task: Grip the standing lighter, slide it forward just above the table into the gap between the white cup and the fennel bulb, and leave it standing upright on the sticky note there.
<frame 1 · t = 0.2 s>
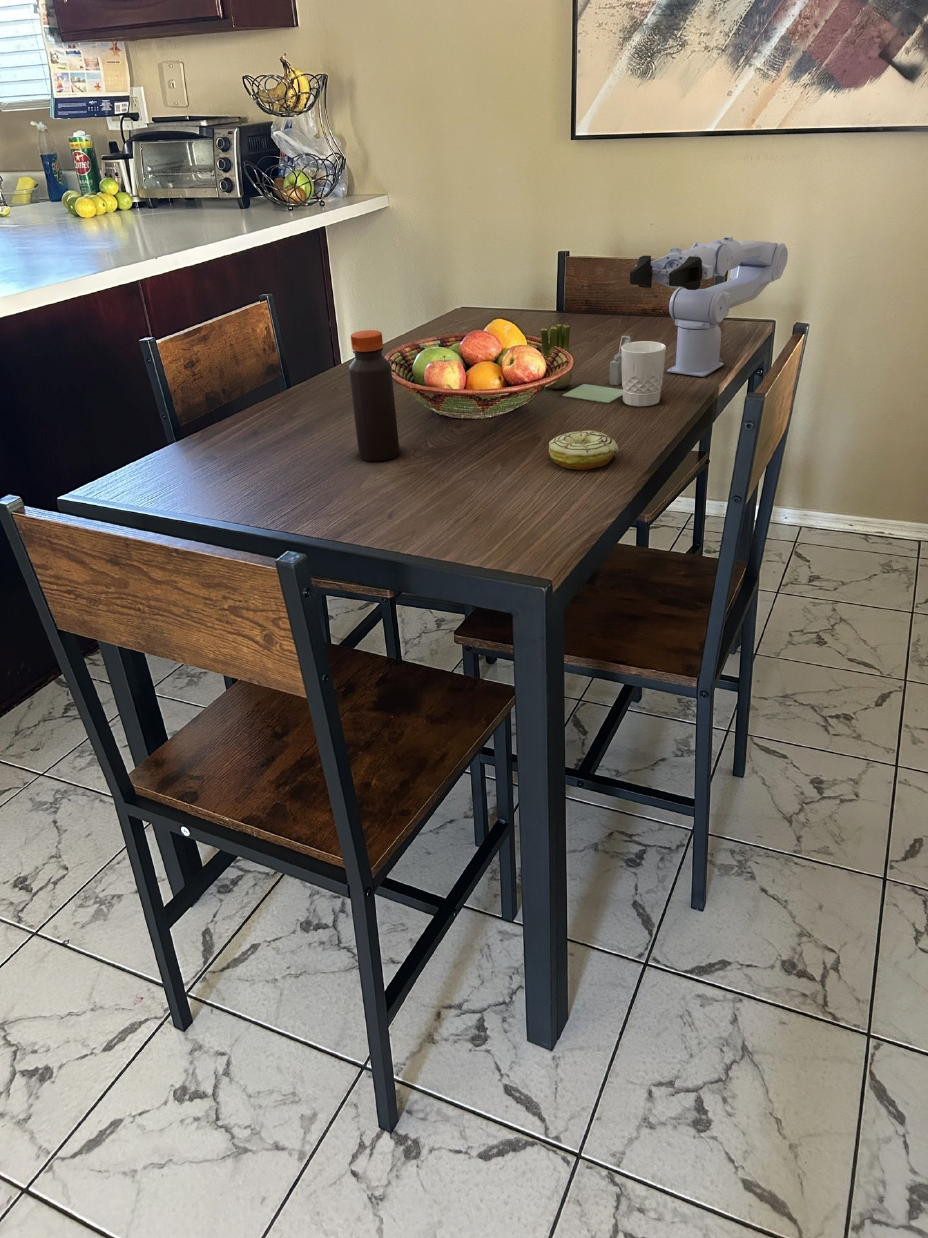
hand: (650, 278, 164), 21 cm above the table, tool horizontal, fingers open, 7 cm apart
lighter: (620, 380, 184), on the table
bottle: (379, 456, 156), on the table
sticky note: (595, 393, 178), on the table
decorated donut: (583, 461, 148), on the table
fennel bulb: (556, 388, 182), on the table
white cup: (641, 402, 172), on the table
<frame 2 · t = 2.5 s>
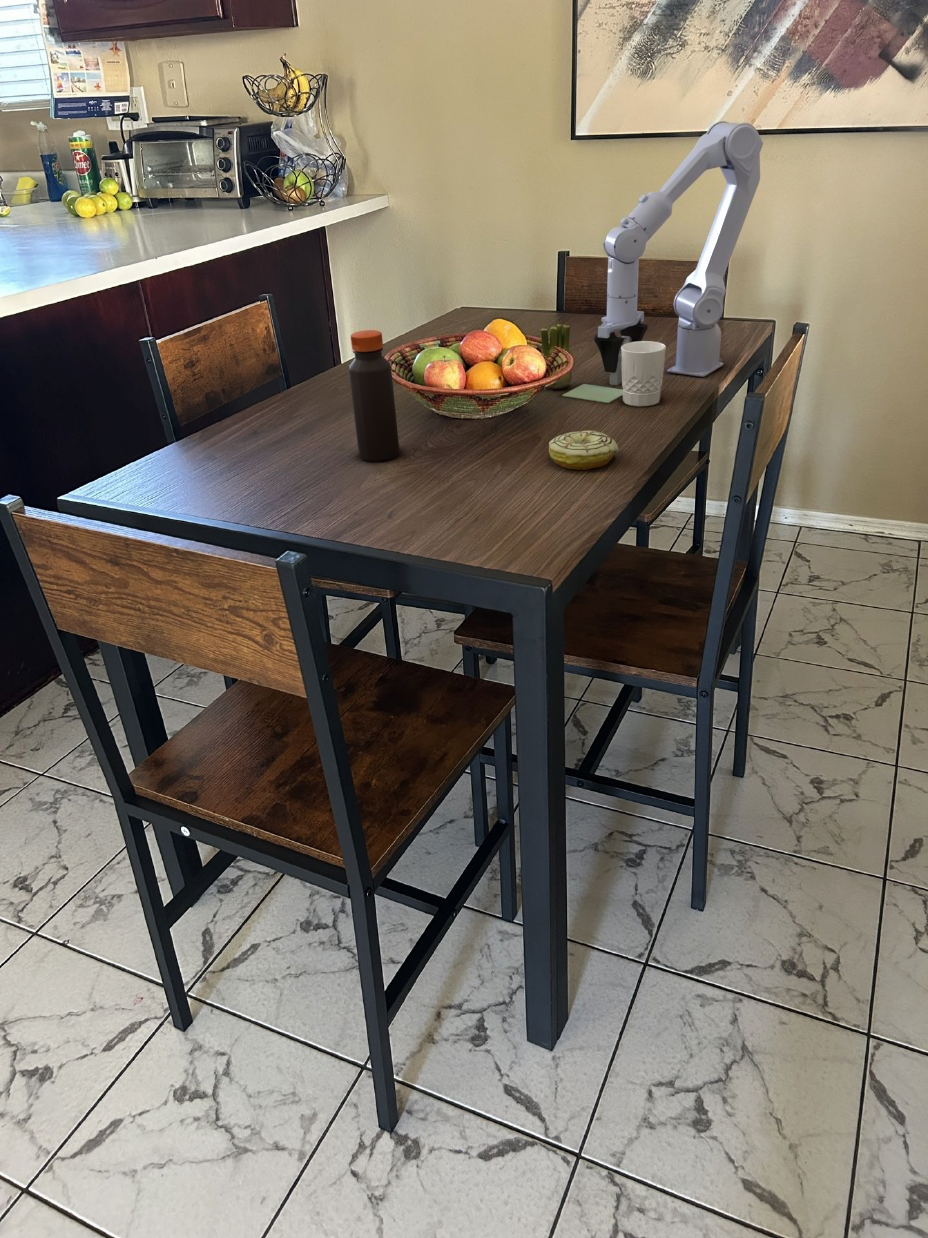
hand: (620, 366, 183), 3 cm above the table, tool pointing down
lighter: (620, 380, 184), on the table, touching gripper
everything else where it was.
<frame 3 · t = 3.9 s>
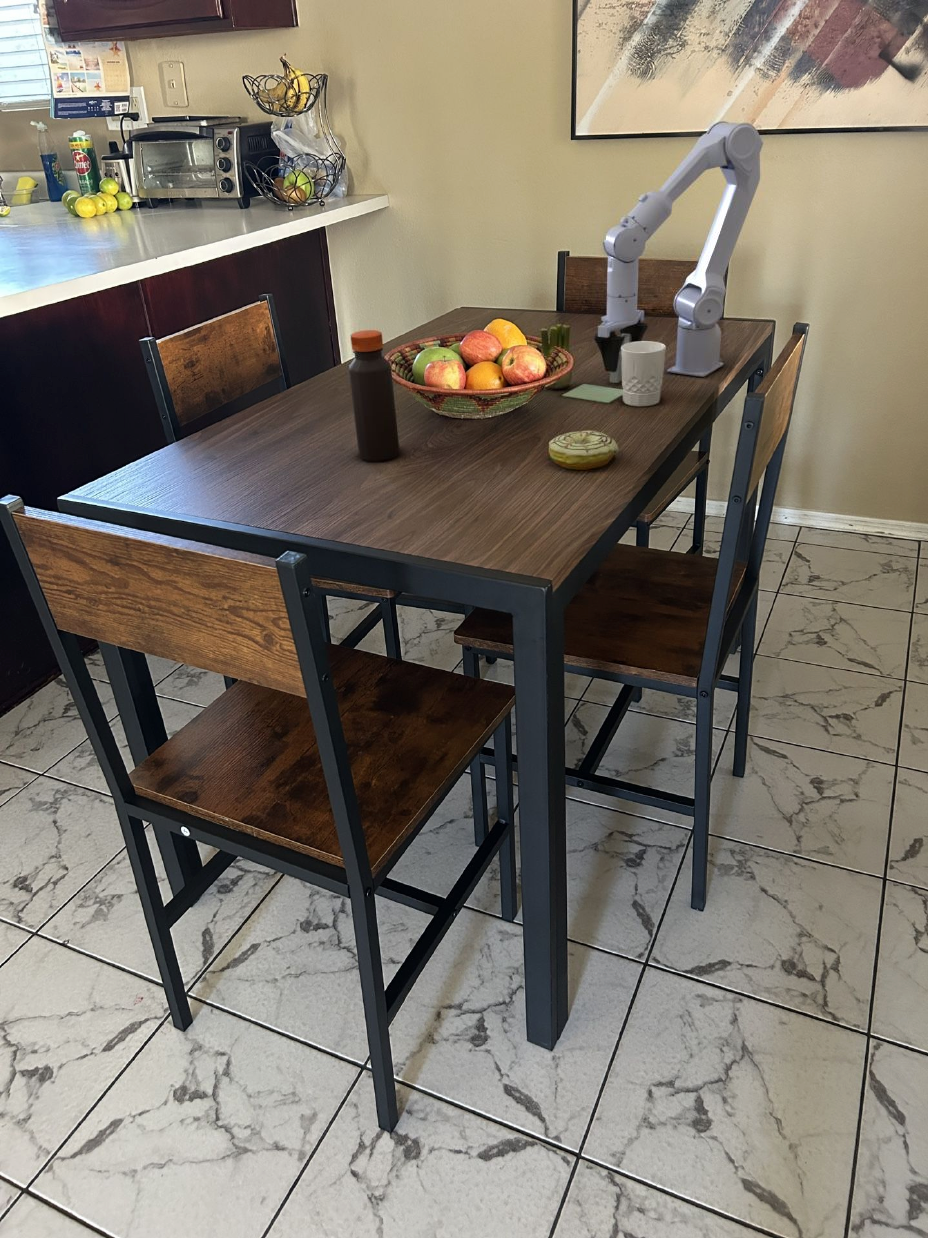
hand: (620, 365, 183), 3 cm above the table, tool pointing down
lighter: (620, 378, 184), on the table, touching gripper
everything else where it was.
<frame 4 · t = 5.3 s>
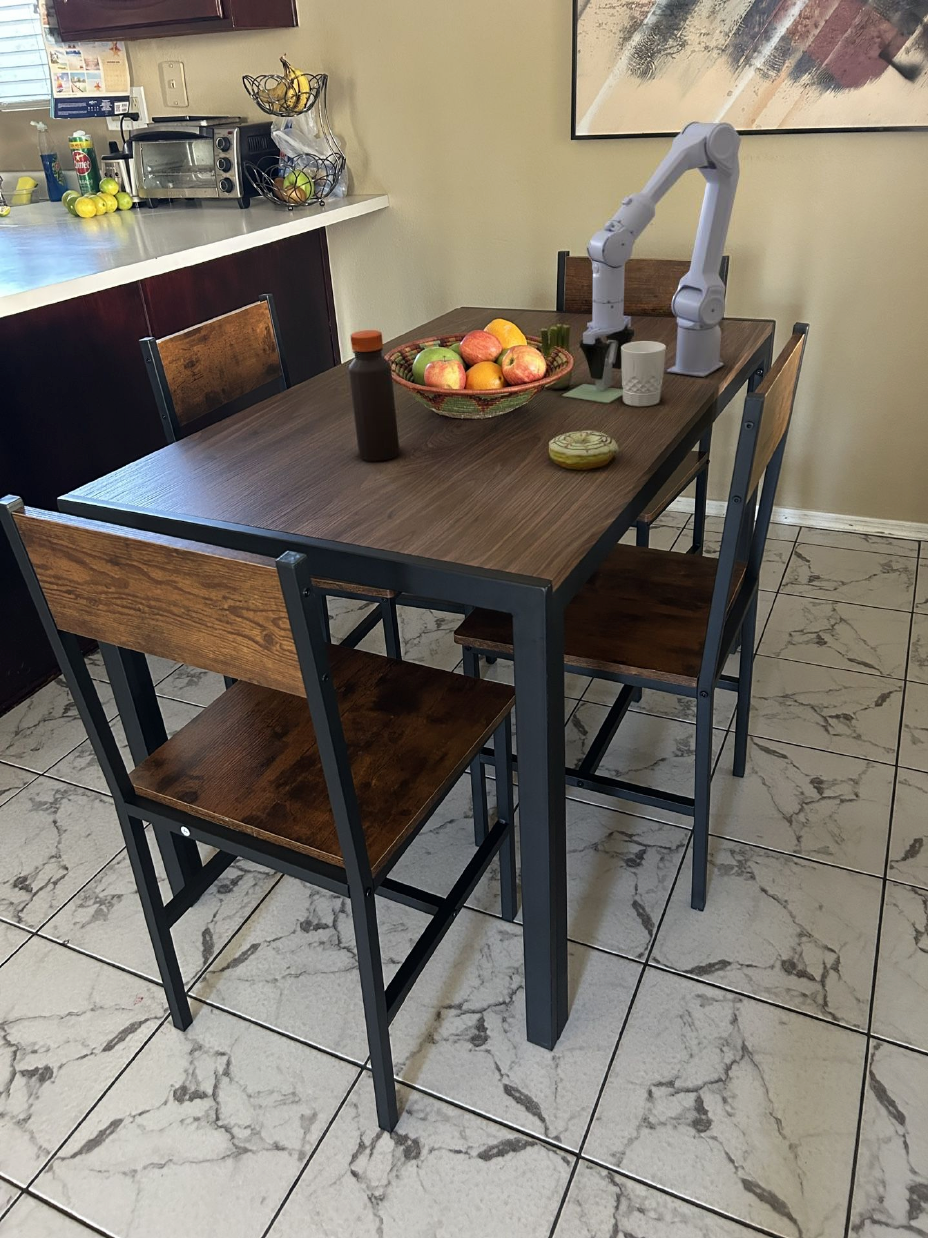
hand: (606, 373, 179), 3 cm above the table, tool pointing down
lighter: (606, 385, 180), on the table, touching gripper
everything else where it was.
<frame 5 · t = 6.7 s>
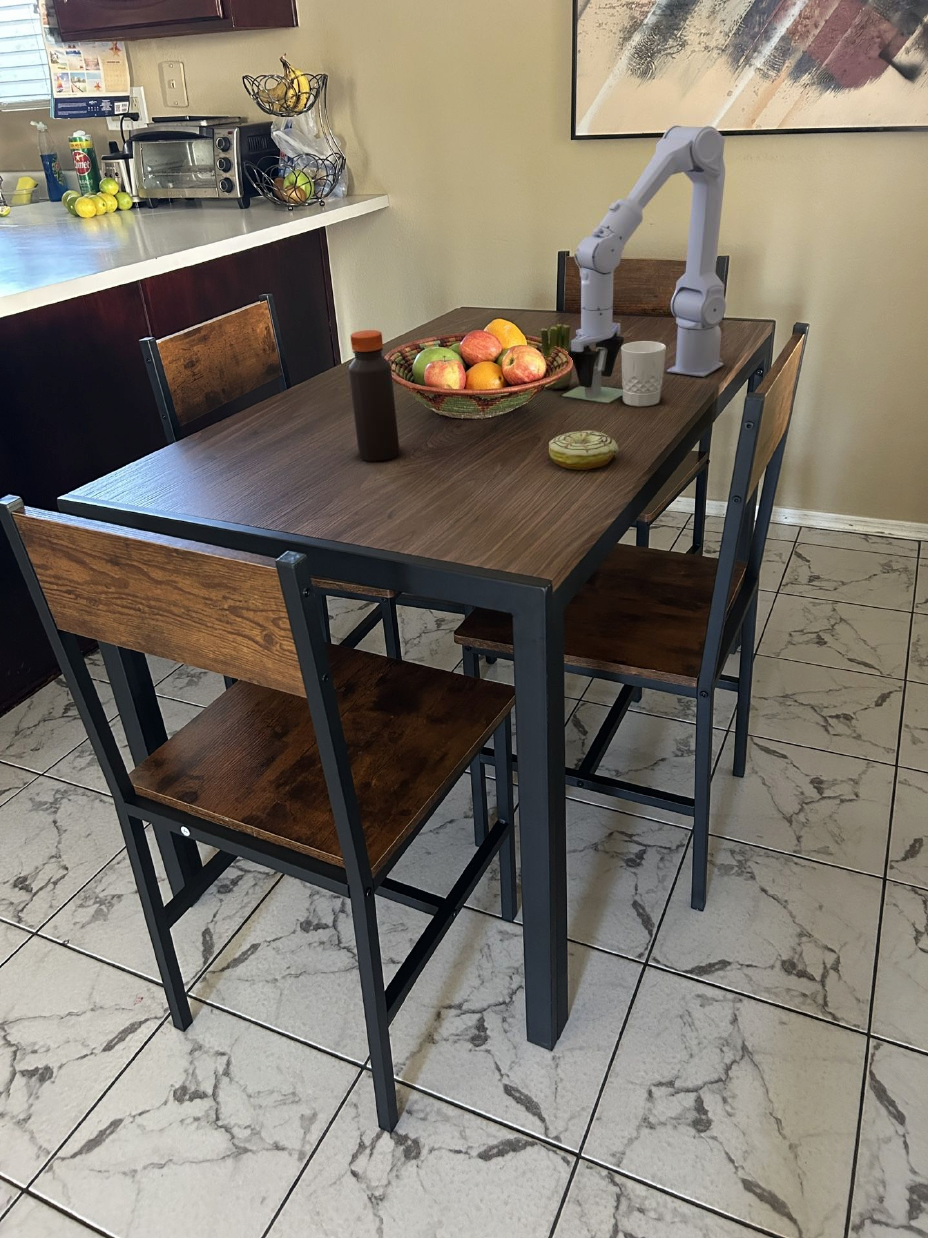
hand: (595, 380, 176), 2 cm above the table, tool pointing down
lighter: (595, 393, 178), resting on sticky note, touching gripper
everything else where it was.
when the fingers open (3 cm above the table, at t = 7.8 s): lighter stays where it is, resting on sticky note.
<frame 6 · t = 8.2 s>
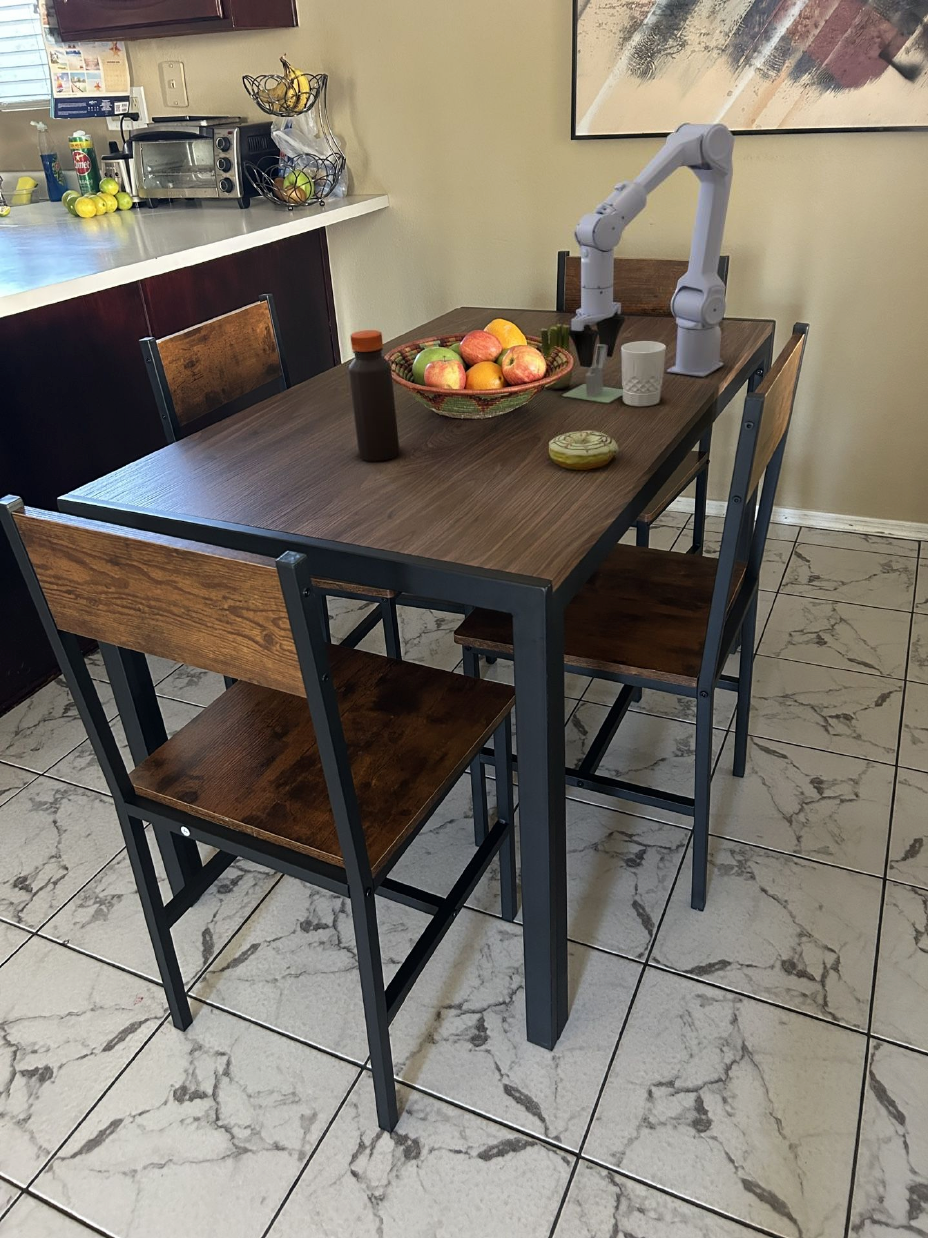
hand: (596, 361, 174), 6 cm above the table, tool pointing down, fingers open, 7 cm apart
lighter: (597, 390, 178), resting on sticky note, touching gripper
everything else where it was.
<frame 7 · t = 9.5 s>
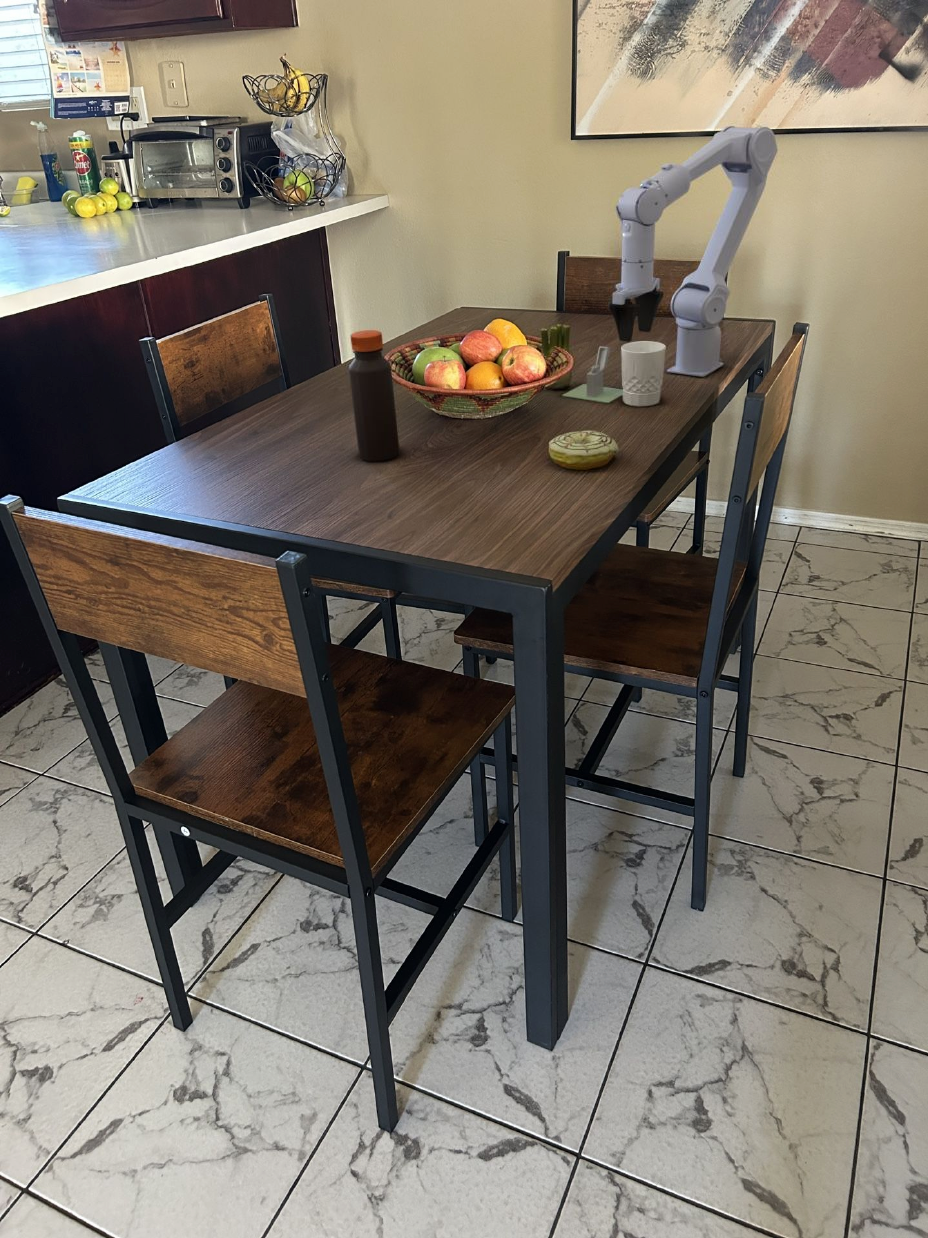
hand: (635, 335, 176), 9 cm above the table, tool pointing down, fingers open, 7 cm apart
lighter: (597, 392, 178), resting on sticky note
everything else where it was.
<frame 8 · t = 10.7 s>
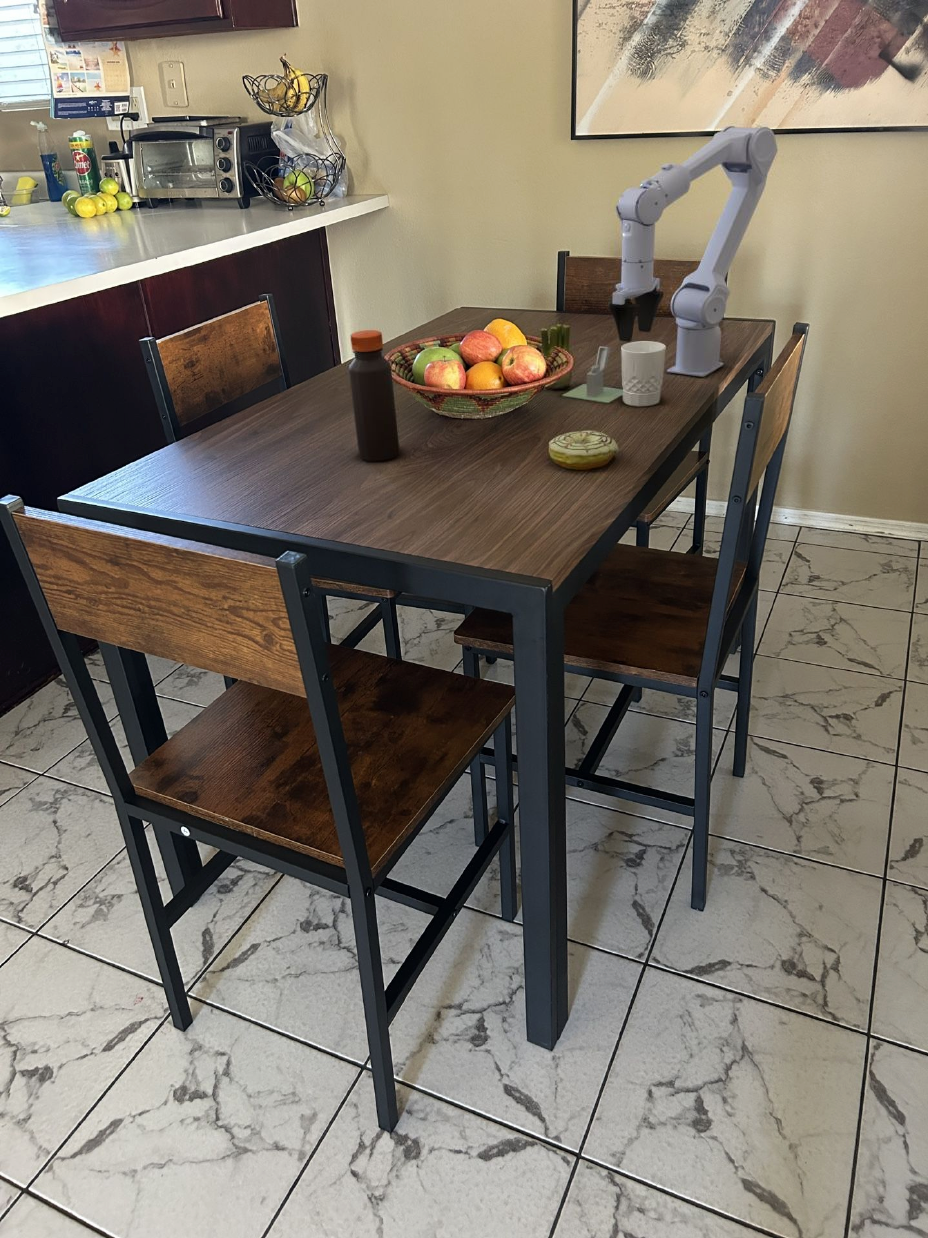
hand: (635, 335, 176), 9 cm above the table, tool pointing down, fingers open, 7 cm apart
nothing on the table moved.
at the end: lighter 1.0 cm from the target spot, resting on sticky note; lighter tilted 0°; the gripper is holding nothing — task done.
